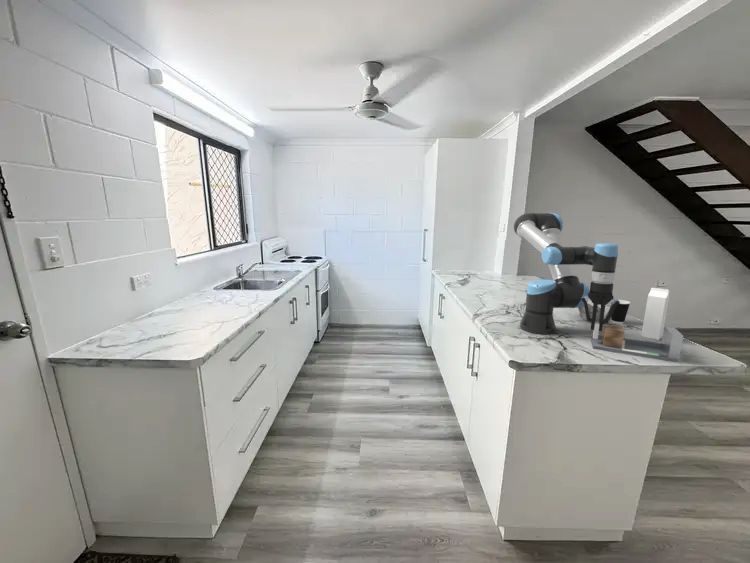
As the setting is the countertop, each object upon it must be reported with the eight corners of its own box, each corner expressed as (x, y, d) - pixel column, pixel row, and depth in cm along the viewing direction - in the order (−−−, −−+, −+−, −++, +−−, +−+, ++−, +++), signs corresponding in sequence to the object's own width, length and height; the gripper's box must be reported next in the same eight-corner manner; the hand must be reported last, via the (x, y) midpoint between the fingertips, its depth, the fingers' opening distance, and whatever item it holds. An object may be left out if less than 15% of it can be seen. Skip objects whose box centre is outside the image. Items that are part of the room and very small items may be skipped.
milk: (658, 340, 137) (667, 290, 132) (640, 336, 141) (649, 288, 137) (662, 337, 140) (671, 288, 136) (644, 333, 145) (653, 286, 140)
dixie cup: (603, 320, 164) (606, 299, 161) (618, 319, 164) (621, 299, 162) (616, 325, 156) (620, 303, 154) (631, 324, 156) (635, 303, 154)
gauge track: (592, 348, 128) (593, 341, 128) (590, 340, 137) (591, 333, 136) (678, 362, 116) (679, 354, 115) (669, 352, 124) (671, 344, 124)
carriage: (603, 345, 127) (606, 329, 126) (601, 340, 133) (603, 324, 132) (624, 349, 124) (626, 332, 123) (621, 343, 130) (623, 326, 129)
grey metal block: (668, 357, 117) (672, 334, 115) (660, 348, 126) (664, 326, 124) (678, 359, 116) (683, 336, 114) (670, 349, 124) (674, 327, 122)
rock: (572, 314, 171) (575, 298, 168) (588, 314, 171) (592, 297, 167) (588, 329, 157) (592, 311, 153) (606, 329, 156) (610, 311, 152)
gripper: (583, 282, 127) (576, 338, 131) (623, 285, 120) (615, 343, 125) (582, 279, 133) (576, 332, 138) (620, 282, 127) (613, 337, 131)
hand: (595, 337), depth 131 cm, fingers closed
